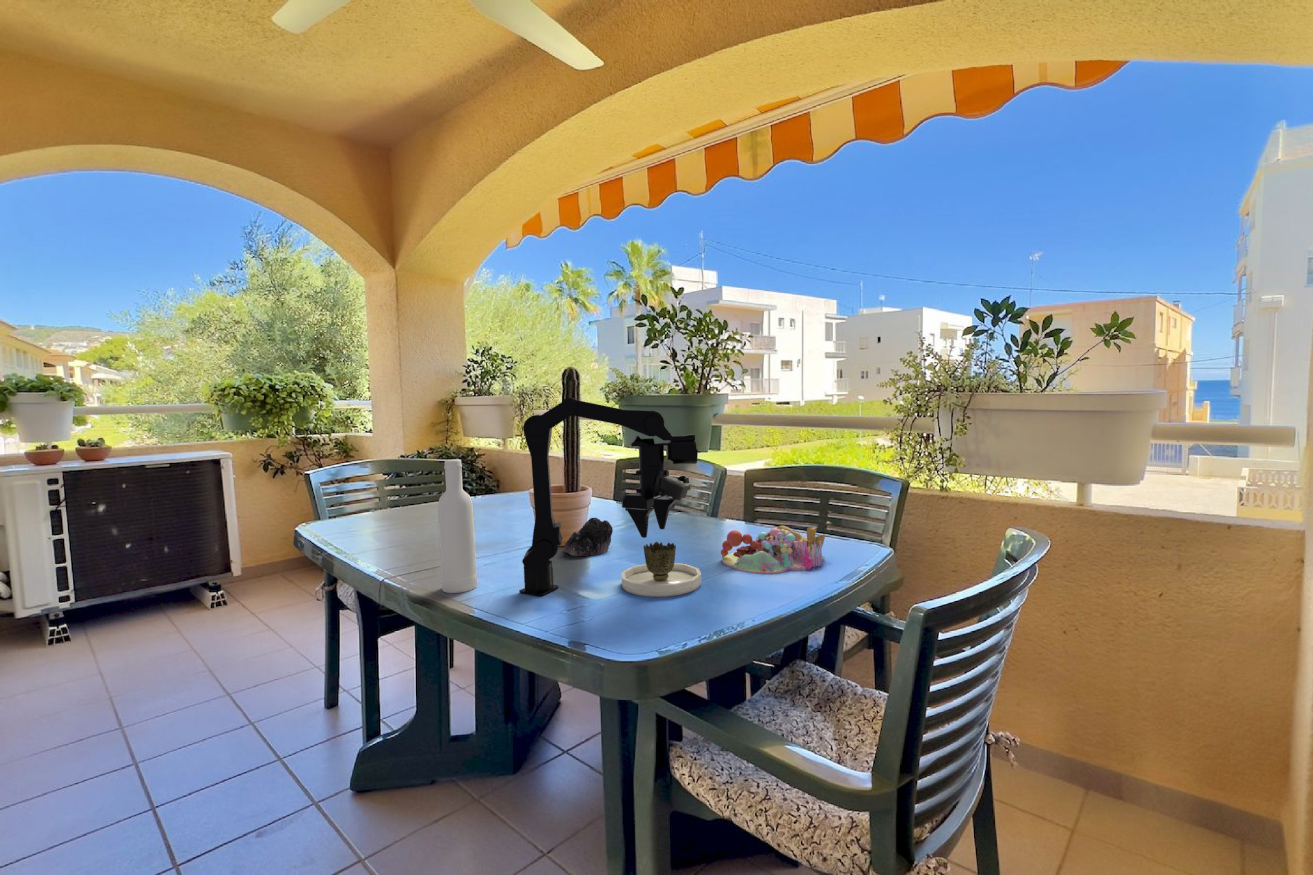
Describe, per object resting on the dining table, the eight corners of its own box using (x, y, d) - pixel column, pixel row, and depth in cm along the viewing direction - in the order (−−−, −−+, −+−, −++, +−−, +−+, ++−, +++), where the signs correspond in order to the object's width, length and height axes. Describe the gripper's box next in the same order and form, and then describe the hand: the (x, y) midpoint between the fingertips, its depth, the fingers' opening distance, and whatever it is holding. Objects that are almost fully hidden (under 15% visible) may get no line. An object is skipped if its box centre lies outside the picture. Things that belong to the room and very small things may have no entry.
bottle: (435, 589, 140) (428, 460, 138) (466, 580, 146) (459, 457, 144) (452, 595, 135) (445, 462, 133) (484, 587, 141) (477, 459, 139)
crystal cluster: (554, 557, 169) (553, 523, 167) (579, 542, 181) (578, 509, 179) (597, 565, 163) (596, 529, 162) (619, 548, 176) (619, 515, 174)
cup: (681, 576, 140) (680, 542, 140) (669, 585, 134) (668, 550, 133) (652, 573, 143) (651, 540, 143) (639, 582, 137) (637, 547, 136)
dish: (681, 600, 126) (681, 589, 126) (607, 591, 134) (607, 580, 134) (712, 577, 143) (711, 566, 142) (644, 569, 150) (644, 559, 150)
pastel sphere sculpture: (764, 545, 172) (763, 513, 171) (840, 559, 156) (840, 523, 155) (708, 565, 154) (707, 529, 154) (788, 582, 138) (787, 542, 137)
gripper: (666, 471, 125) (667, 545, 126) (700, 462, 142) (701, 527, 143) (619, 469, 130) (621, 541, 131) (657, 461, 147) (659, 524, 148)
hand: (653, 533), depth 138 cm, fingers open, 9 cm apart
